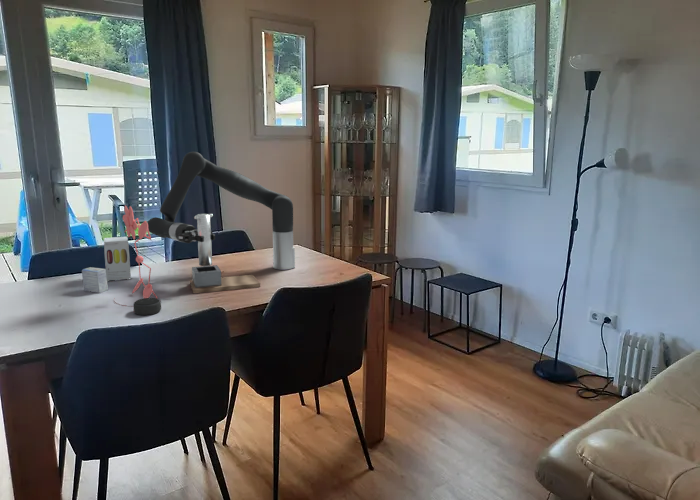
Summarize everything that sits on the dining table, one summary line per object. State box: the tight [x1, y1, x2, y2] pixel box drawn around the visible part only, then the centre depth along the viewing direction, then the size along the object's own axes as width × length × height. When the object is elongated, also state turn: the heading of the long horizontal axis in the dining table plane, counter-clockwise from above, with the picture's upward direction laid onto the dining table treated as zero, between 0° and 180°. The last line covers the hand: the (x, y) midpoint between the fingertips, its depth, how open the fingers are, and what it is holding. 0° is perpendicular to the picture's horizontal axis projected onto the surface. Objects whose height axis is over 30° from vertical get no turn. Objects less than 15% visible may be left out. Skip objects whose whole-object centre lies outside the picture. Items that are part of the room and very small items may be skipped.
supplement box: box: [103, 236, 132, 282], centre depth 222 cm, size 10×9×17 cm
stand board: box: [189, 274, 261, 294], centre depth 214 cm, size 26×14×2 cm, turn 112°
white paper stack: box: [81, 266, 109, 294], centre depth 205 cm, size 8×4×9 cm, turn 71°
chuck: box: [191, 264, 222, 288], centre depth 211 cm, size 10×10×6 cm
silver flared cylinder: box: [193, 213, 214, 267], centre depth 208 cm, size 8×5×20 cm, turn 142°
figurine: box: [113, 205, 159, 307], centre depth 192 cm, size 15×26×35 cm, turn 38°
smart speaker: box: [132, 297, 162, 316], centre depth 182 cm, size 9×9×4 cm
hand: (208, 238), depth 206 cm, fingers closed on silver flared cylinder, 5 cm apart
